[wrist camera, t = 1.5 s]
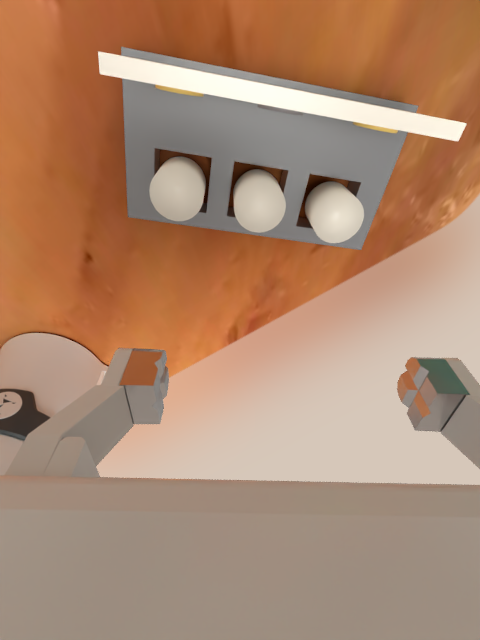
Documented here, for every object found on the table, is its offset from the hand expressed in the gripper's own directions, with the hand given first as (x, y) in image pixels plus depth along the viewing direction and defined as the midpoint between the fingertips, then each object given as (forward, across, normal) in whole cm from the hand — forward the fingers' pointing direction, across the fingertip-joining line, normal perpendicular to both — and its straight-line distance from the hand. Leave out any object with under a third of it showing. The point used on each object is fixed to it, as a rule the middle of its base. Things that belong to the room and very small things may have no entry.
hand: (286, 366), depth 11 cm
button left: (+24, +7, +1) cm, 25 cm away
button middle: (+24, 0, +2) cm, 24 cm away
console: (+27, 0, -1) cm, 27 cm away
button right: (+24, -7, +2) cm, 26 cm away
